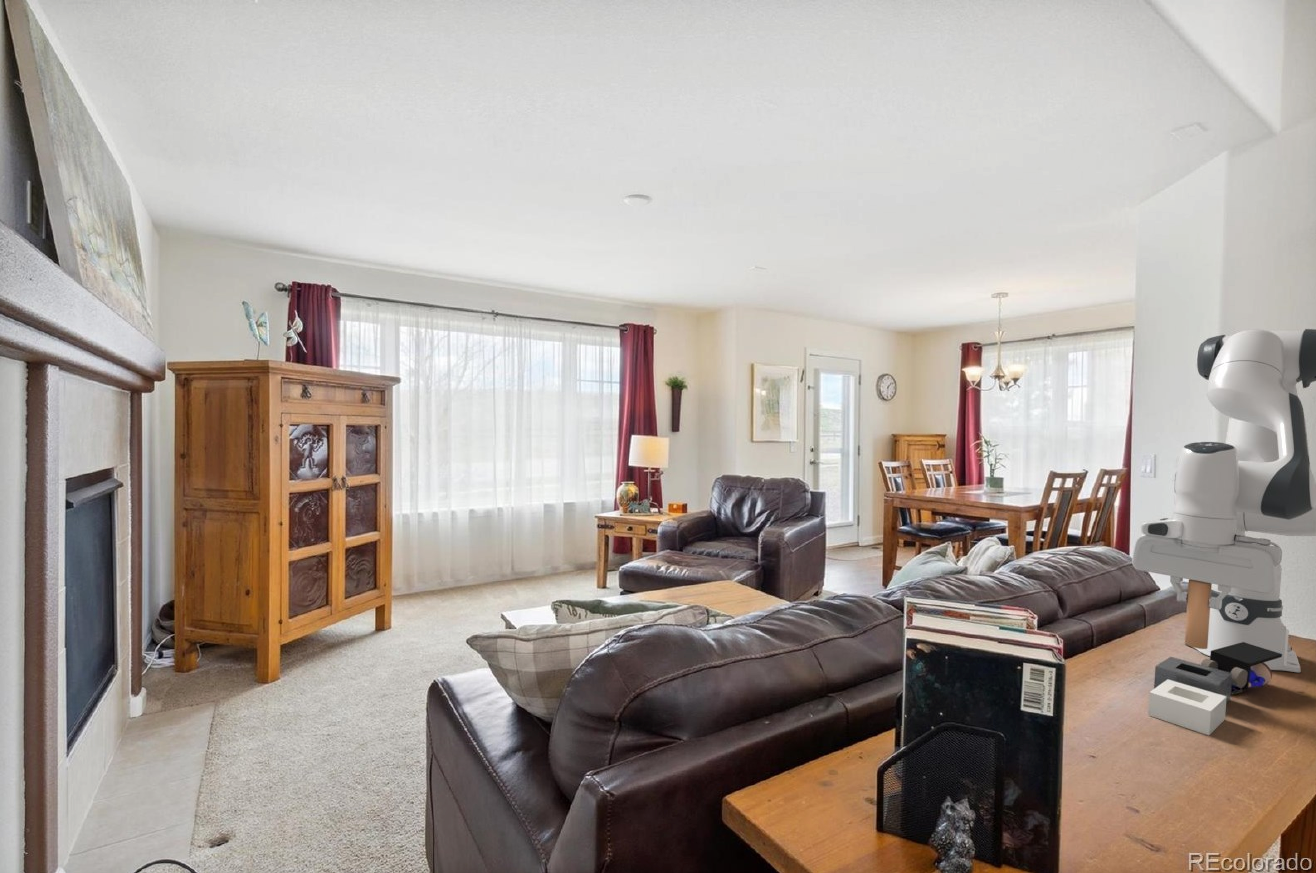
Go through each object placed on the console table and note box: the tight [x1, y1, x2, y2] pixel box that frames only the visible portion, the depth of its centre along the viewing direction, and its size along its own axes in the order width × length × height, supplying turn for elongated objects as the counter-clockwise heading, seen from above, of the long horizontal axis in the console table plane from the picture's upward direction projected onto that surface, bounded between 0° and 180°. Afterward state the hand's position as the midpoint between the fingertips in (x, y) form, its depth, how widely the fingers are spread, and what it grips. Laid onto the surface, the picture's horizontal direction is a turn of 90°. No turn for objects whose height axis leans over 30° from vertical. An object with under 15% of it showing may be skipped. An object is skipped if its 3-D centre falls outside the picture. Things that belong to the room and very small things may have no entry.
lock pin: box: [1184, 579, 1212, 649], centre depth 114 cm, size 3×3×12 cm
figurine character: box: [1200, 642, 1282, 695], centre depth 119 cm, size 7×8×15 cm
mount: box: [1153, 656, 1232, 705], centre depth 114 cm, size 9×9×5 cm
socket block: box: [1147, 680, 1227, 736], centre depth 106 cm, size 10×8×4 cm
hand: (1198, 604), depth 114 cm, fingers closed on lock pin, 3 cm apart
